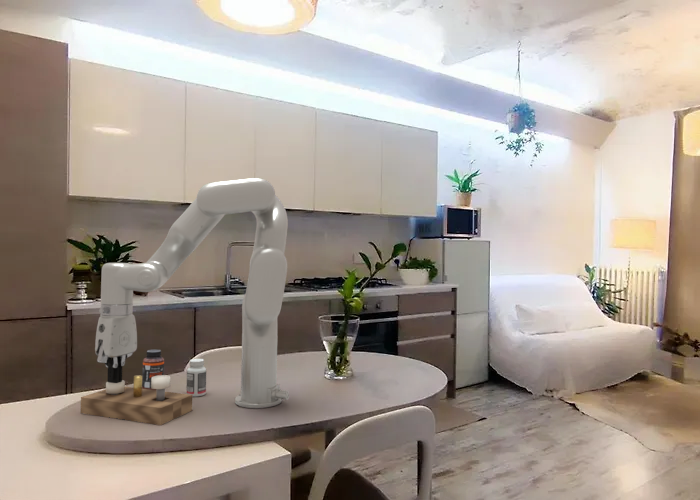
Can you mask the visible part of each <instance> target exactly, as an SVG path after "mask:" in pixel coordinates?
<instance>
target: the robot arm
mask: <svg viewBox="0 0 700 500" xmlns="http://www.w3.org/2000/svg"><path fill="white" fill-rule="evenodd" d="M249 212H251V213H252V214H253V215H254V217H255V219H256V228H255V234H254V235H255V236H254V242H253V243H254V244H253V247H252V254H251V256H250V260H249V271H248V277H247V278H248V279H247V283H246V289H245V294H244V296H243V297H242V303H241V309H242V310H241V316H242V318H241V319H242V320H241V321H242V322H241V324H242V329H241V331H242V333H241V376H240V378H241V381H240V383H241V384H240V394H238V395H236V397H235V398H234V403H235V405H237V406H239V407H242V408H247V409H248V408H249V409H263V408H264V409H265V408H270V407H274V406H278V405H279V404H281V403H282V401H283V400H285V401H286V400H289V397H290V392H289V390H285V389H281V385H280V383H279V384H278V383H277V379H278V378H277V373H278V372H277V371H278V370H277V369H278V317H279V315H280V313H281V309H282V304H283V300H284V294H285V293H284V292H285V287H286V283H287V282H286V281H287V276H288V275H287V274H288V260H287V257H286V256H285V252H286V246H287V245H286V244H287V234H288V229H289V227H288V226H289V225H288V224H289V221H288V219H289V218H288V214H287V211H286V208H285V206H284V204H283V202H282V201H281V200H280V198H279V197H278V196H277V195H276V191H275V187H274V186H273V185H272V183H271V182H270V181H268V180H267V179H264V178H260V177H251V178H244V179H232V180H223V181H213V182H209V183H206V184H203V186H201V187H200V188H199V190H198V191H197V193H196V198H195V199H194V200H193V201H192V202H191V203H190V205H189V206H188V207H187V208H186V209H185V210H184V212H183V213H182V214H181V215H179V217H178V218H177V219H176V220H175V221H174V222H173V223H172V225H171V227H170V228H169V230H168V232H167V236H166V237H165V239H164V241H163V242H162V243H161V245H160V246H159V248H157V250H156V251H154V253H153V254H152V255H151V256H150V257H149V259H147V261H145V262H143V263H133V264H131V263H127V262H107V263H104V264H103V265H102V267H101V276H100V277H101V281H100V283H101V284H100V308H99V309H98V312H99V314H100V316H99V317H98V320H97V321H98V322H97V326H96V332H95V344H94V345H95V347H94V351H95V355H96V356H97V359H96V361H97V363H101V364H102V363H103V364H105V367H106V368H107V381H106V382H110V383H119V382H122V380H123V367H124V366H125V364H126V360H127V359H128V358H129V357H131V356H132V355H133V353H135V352H136V351H137V349H138V332H137V331H138V330H137V322H136V317H135V315H134V314H133V312H134V311H133V307H134V304H133V303H134V300H133V299H134V291H135V292H142V293H151V292H155V291H156V290H158V289H160V288H161V287H162V286H164V285H165V284H166V283H167V282H168V281H169V279H170V278H171V277H172V276H173V275H174V273H175V272H176V271H177V270H178V269H179V268H180V267H181V265H183V263H184V262H185V260H187V259H188V257H189V256H190V255H191V254H192V253H194V251H195V250H196V249H198V246H200V244H201V243H202V242H203V241H204V240H205V238H207V236H208V235H209V234H210V233H211V231H212V230H213V229H214V228H215V227H216V225H218V224H219V222H221V220H222V219H223V218H224V216H226V215H231V214H232V215H233V214H240V213H242V214H243V213H249Z"/></svg>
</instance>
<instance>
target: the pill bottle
mask: <svg viewBox="0 0 700 500" xmlns="http://www.w3.org/2000/svg"><path fill="white" fill-rule="evenodd" d="M188 363H189V364H188V365H189V367H188V368H187V369H186V394H189V395H192V398H193V397H200V396H204V395H206V394H207V368H206V367H205V366H204V365H205V359H204V358H192V359H190V360H189V362H188Z"/></svg>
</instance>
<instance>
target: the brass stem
mask: <svg viewBox="0 0 700 500" xmlns="http://www.w3.org/2000/svg"><path fill="white" fill-rule="evenodd" d="M141 396H142V375H140V374H138V375H134V376H133V397H141Z"/></svg>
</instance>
